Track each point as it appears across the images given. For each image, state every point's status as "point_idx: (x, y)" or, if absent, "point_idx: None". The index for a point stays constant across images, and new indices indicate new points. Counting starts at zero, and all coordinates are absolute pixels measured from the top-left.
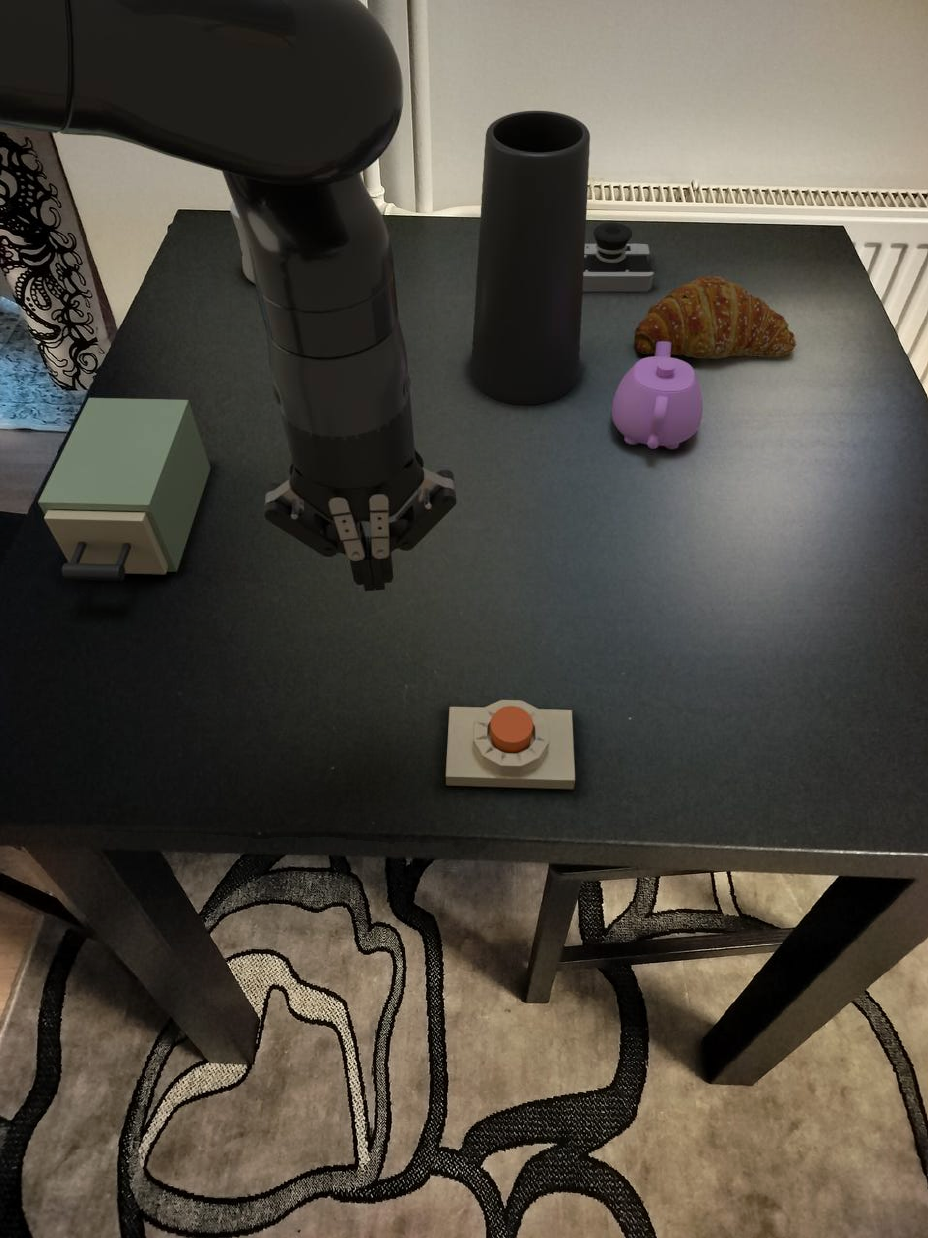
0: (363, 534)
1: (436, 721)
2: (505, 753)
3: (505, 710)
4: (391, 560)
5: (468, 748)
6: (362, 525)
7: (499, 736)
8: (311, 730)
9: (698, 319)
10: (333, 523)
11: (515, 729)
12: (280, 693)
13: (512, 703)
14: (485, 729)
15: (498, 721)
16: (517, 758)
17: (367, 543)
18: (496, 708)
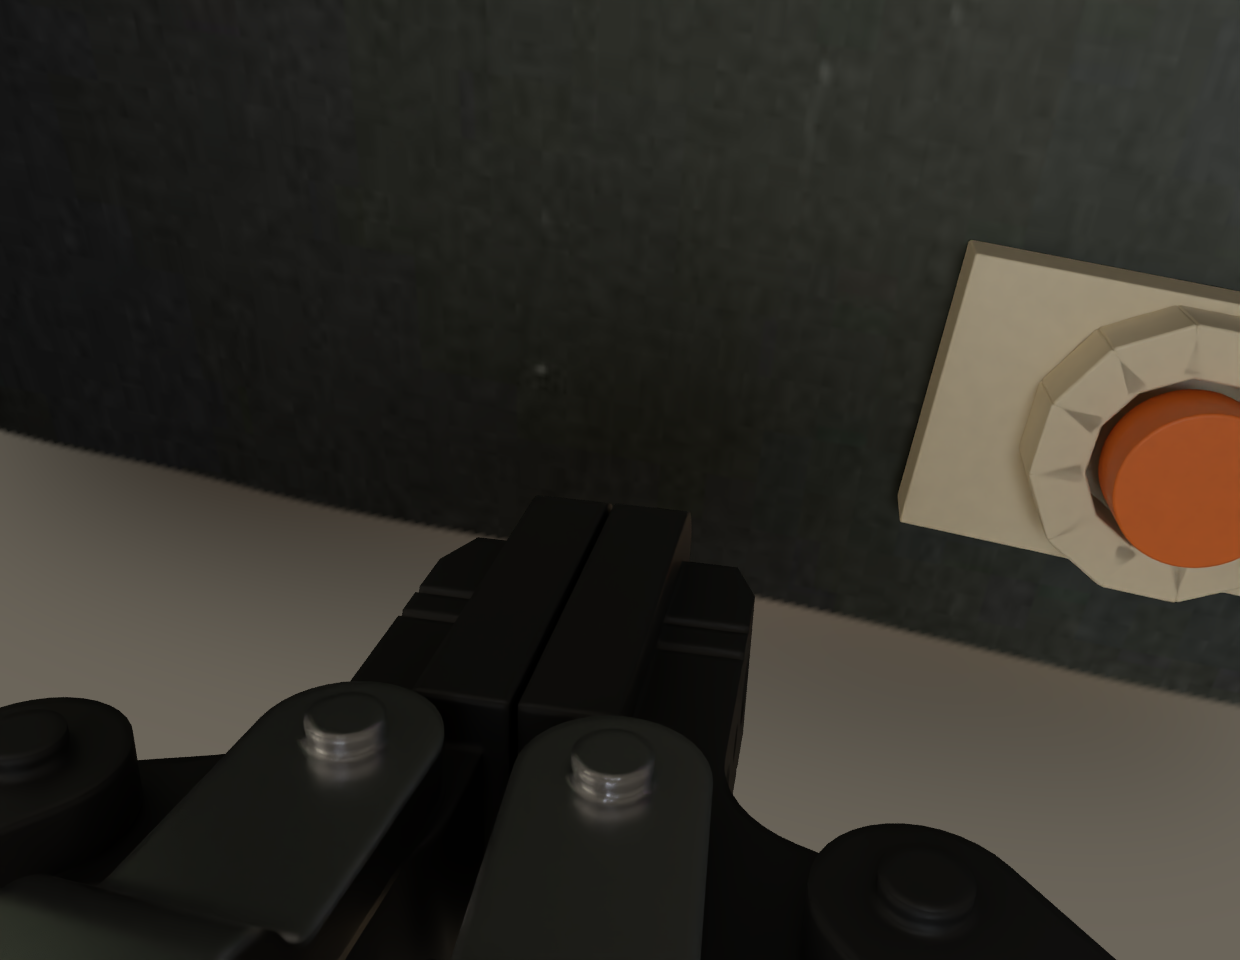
0: (424, 882)
1: (913, 251)
2: (1133, 549)
3: (1198, 433)
4: (736, 728)
5: (1003, 437)
6: (395, 859)
7: (1134, 534)
8: (468, 216)
9: None
10: (44, 854)
11: (1208, 518)
12: (351, 37)
13: (1237, 351)
14: (1088, 441)
15: (1151, 473)
16: (1171, 575)
17: (495, 785)
18: (1162, 362)
